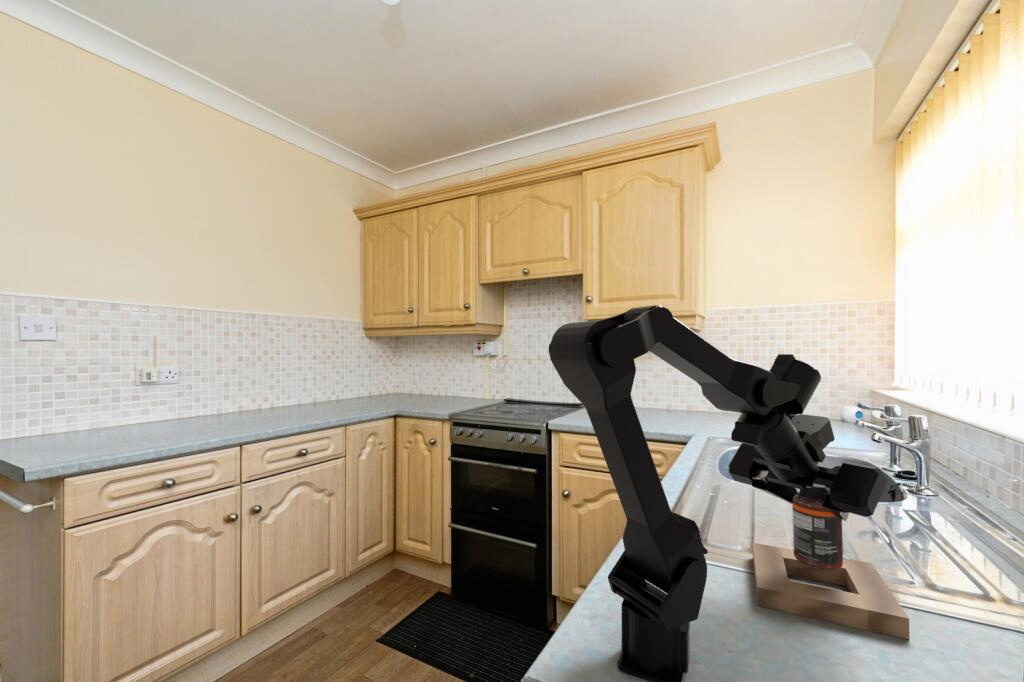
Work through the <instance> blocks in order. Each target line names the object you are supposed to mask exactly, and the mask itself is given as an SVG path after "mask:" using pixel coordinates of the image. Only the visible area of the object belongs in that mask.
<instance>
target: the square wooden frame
mask: <svg viewBox="0 0 1024 682" xmlns="http://www.w3.org/2000/svg"><path fill="white" fill-rule="evenodd" d="M752 562H753V573H754V581H755V591H756V601H757V602H756V603H757V606H758V607H762V608H765V609H771V610H774V611H780V612H783V613H788V614H794V615H798V616H803V617H805V618H811V619H814V620H815V619H816V620H818V621H819V620H820V621H824V622H829V623H833V624H836V625H843V626H845V627H846V626H847V627H852V628H856V629H860V630H865V631H869V632H873V633H874V632H875V633H878V634H882V635H888V636H892V637H896V638H901V639H905V640H910V618H909V616H908V615H907V613H906V612H905V610H904V609H903V607H902V606H901V604H900V602H899V600H897V599H896V597H895V595H894V594H893V592H892V591H891V590H890V587H889V585H887V583H886V582H885V580H884V579H883V577H882V576H881V574H880V573H879V572H878V570H877V568H876V567H875V566H874V564H873V562H867V561H862V560H856V559H852V558H844V557H843V565H842V567H841V568H839V569H835V570H824V569H819V568H814V567H810V566H808V565H805V564H804V563H802V562H800V561H798V560H797V559H796V558H795V556H794V549H792V548H785V547H780V546H774V545H769V544H762V543H756V542H752ZM788 575H789V576H792V577H793V576H794V577H799V578H804V579H809V580H814V581H821V582H824V583H825V582H826V583H831V584H835V585H841V586H845V587H846V588H847V589H846V590H847V591H844V590H839V589H834V588H829V587H824V586H819V585H814V584H809V583H803V582H797V581H793V580H789V578H788V577H789V576H788Z"/></svg>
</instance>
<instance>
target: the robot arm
mask: <svg viewBox="0 0 1024 682" xmlns="http://www.w3.org/2000/svg"><path fill="white" fill-rule="evenodd" d="M550 341H551V342H550V343H549V344H548V355H549V358H550V362H551V363H552V365H553V367H554V369H555V371H556V372H557V374H558V376H559V378H560V379H561V382H562V383H563V384H564V386H565V387H566V388H567V389H568V390H569V392H570V393H571V394H573V395H574V397H576V399H577V400H578V401H579V402H580V403H581V404H582V405H583V407H584V408H585V410H586V412H587V416H588V419H589V420H590V423H591V426H592V428H593V432H594V434H595V436H596V439H597V441H598V444H599V447H600V450H601V453H602V456H603V457H604V460H605V463H606V465H607V469H608V472H609V475H610V478H611V480H612V483H613V485H614V489H615V491H616V492H617V493H616V494H617V496H618V498H619V501H620V504H621V507H622V509H623V513H624V515H625V517H626V518H625V519H626V522H625V526H624V529H623V530H624V531H623V534H622V542H623V547H624V550H623V552H622V554H621V555H620V557H619V558H618V560H617V561H616V563H615V565H614V566H613V568H612V569H611V571H610V572H609V574H608V576H607V580H608V584H609V587H610V590H611V592H612V593H614V594H615V595H617V596H619V597H620V598H622V602H621V653H620V655H619V657H618V662H617V669H618V671H621V672H623V673H627V674H630V675H633V676H635V677H640V678H642V679H645V680H647V681H648V680H649V681H652V682H683V678H684V674H687V673H688V672H689V666H690V657H691V655H690V654H691V653H690V651H691V649H690V647H691V646H690V645H691V643H690V641H691V640H690V627H691V626H690V623H691V622H693V621H696V620H697V619H698V618H699V615H700V610H701V607H702V601H703V597H704V593H705V589H706V588H705V587H706V584H707V578H708V564H707V560H706V556H705V555H707V554H708V553H709V551H708V549H706V547H705V546H704V543H703V542H702V538H701V532H700V528H699V526H698V525H697V522H696V521H695V520H694V519H690V518H689V517H685V516H683V515H681V514H678V513H676V512H673V511H672V509H671V506H670V504H669V501H668V499H667V496H666V493H665V490H664V488H663V485H662V481H661V479H660V476H659V473H658V470H657V468H656V465H655V461H654V459H653V455H652V453H651V449H650V446H649V444H648V441H647V438H646V436H645V433H644V430H643V427H642V424H641V422H640V419H639V415H638V413H637V410H636V408H635V404H634V402H633V398H632V395H631V394H632V389H633V386H634V381H635V376H636V372H637V369H636V362H635V359H637V358H639V357H641V356H644V355H646V354H648V353H649V352H650V353H651V354H653V355H654V356H657V358H659V359H661V360H663V361H664V362H665V363H667V364H668V365H670V366H671V367H673V368H675V369H676V370H678V371H679V372H680V373H682V374H684V375H685V376H687V377H688V378H690V379H691V380H693V381H695V382H696V383H697V384H698V385H699V387H700V388H701V393H702V395H703V397H704V398H705V399H706V400H707V401H708V402H709V403H711V405H713V406H714V408H716V409H717V410H719V411H724V412H731V413H732V412H733V413H737V414H738V413H739V414H740V415H739V417H738V418H737V420H736V421H735V422H734V428H733V430H732V431H731V441H733V442H737V443H741V444H740V445H739V447H738V448H737V450H736V452H735V453H734V454H733V456H732V458H731V460H730V461H729V464H728V473H729V475H730V476H731V478H732V479H733V480H734V481H735V482H739V483H743V484H745V485H746V484H747V485H751V487H753V488H754V489H757V490H760V491H762V492H765V493H766V494H769V495H771V496H774V497H775V498H778V499H780V500H782V501H784V502H787V503H789V504H790V505H793V497H794V496H795V495H797V494H798V493H799V492H798V490H800V489H802V490H805V488H806V487H808V488H812V487H813V485H814V483H815V484H819V485H824V486H825V488H826V490H827V491H829V492H828V494H827V496H826V498H825V501H824V503H823V505H822V506H823V507H824V508H825V509H827V510H828V511H830V512H831V513H833V514H834V515H836V516H837V517H839V518H840V519H842V521H845V522H846V521H847V520H848V518H849V515H850V514H849V513H851V514H854V515H857V516H859V517H860V516H861V517H864V518H867V517H870V516H873V515H874V513H875V510H876V508H877V507H878V503H879V501H880V498H881V497H882V494H883V491H884V489H885V487H886V485H887V483H888V480H887V479H886V477H885V475H884V473H883V472H882V470H881V469H880V468H879V467H878V466H877V467H876V466H871V465H867V464H866V465H865V464H861V463H857V462H850V461H845V462H842V464H841V465H836V466H834V467H832V468H830V467H826V466H825V467H824V466H820V465H819V463H823V462H824V460H825V459H826V456H827V455H826V454H825V452H824V451H823V450H824V449H825V448H826V447H827V446H828V445H829V444H830V443H831V442H834V441H835V439H836V438H835V435H834V431H833V428H832V424H831V420H830V418H829V417H826V416H820V415H814V414H813V415H811V414H803V413H804V411H805V410H806V408H807V406H808V405H809V402H810V400H811V399H812V396H813V395H814V393H815V391H816V390H817V388H818V386H819V384H820V382H821V380H822V376H821V373H820V371H819V369H816V368H814V367H813V366H811V365H810V364H809V363H807V362H804V361H802V360H798V359H796V357H795V355H794V354H792V353H791V354H790V353H789V354H787V353H778V354H777V356H776V357H775V360H774V361H773V364H772V366H771V368H770V369H769V370H768V369H766V368H764V367H762V366H759V365H757V364H754V363H750V362H746V361H742V360H737V359H734V358H733V357H730V356H728V355H727V354H726V353H724V352H723V351H722V350H720V349H719V348H717V347H716V346H715V345H713V344H711V343H710V342H708V340H706V339H705V338H703V337H702V336H701V335H700V334H698V333H697V332H695V331H694V330H693V329H691V328H689V327H688V326H687V325H685V323H682V322H681V321H680V320H678V319H677V318H676V317H674V316H673V314H672V311H670V309H669V308H667V307H665V306H662V305H656V304H655V305H648V306H646V305H645V306H639V307H632V308H630V309H628V310H626V311H624V312H622V313H621V312H620V313H619V314H616V315H614V316H611V317H610V316H609V317H607V318H603V319H595V320H587V321H585V320H584V321H576V322H568V323H565V324H562V325H561V326H560V327H559V328H557V329H556V331H555V333H554V334H553V335H552V338H551V340H550ZM797 489H798V490H797Z"/></svg>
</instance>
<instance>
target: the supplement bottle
mask: <svg viewBox="0 0 1024 682" xmlns="http://www.w3.org/2000/svg"><path fill="white" fill-rule="evenodd" d="M828 492H829V491H827V490H826V488H825V486H824V485H819V484H815V483H814V485H813V487H812V488H808V487H806V488H805V490H802V489H799V492H798V494H797V495H795V496H794V497H793V504H792V543H793V544H792V545H793V547H792V548H793V549H792V550H794V556H795V558H796V559H797V560H798V561H800V562H802V563H804V564H805V565H808V566H810V567H814V568H819V569H824V570H835V569H839V568H841V567H842V565H843V558H844V555H843V554H844V552H843V551H844V549H843V548H844V546H843V544H844V543H843V520H842V519H840V518H839V517H837V516H836V515H834V514H833V513H831V512H830V511H828V510H827V509H825V508H824V507H823V506H822V505H823V503H824V501H825V498H826V496H827V494H828Z"/></svg>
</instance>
